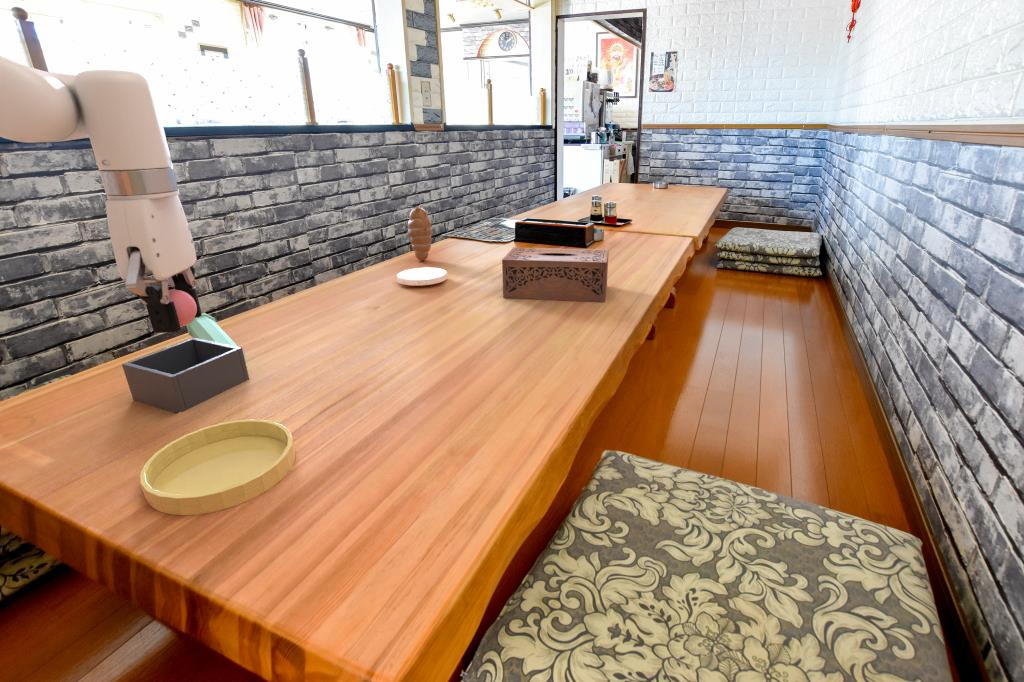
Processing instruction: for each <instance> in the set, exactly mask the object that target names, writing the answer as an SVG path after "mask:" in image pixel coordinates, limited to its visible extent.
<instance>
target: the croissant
mask: <svg viewBox="0 0 1024 682" xmlns="http://www.w3.org/2000/svg"><path fill="white" fill-rule="evenodd" d="M407 228H408V229H407V235H408V237H409V242H410V244H411V249H412V251H413V252H414V256H415V258H416V259H417V260H418V261H420V262H424V261H426V260H428V257H429V252H430V251H431V248H432V245H431V244H432V235H433V229H432V221H431V219H430V217H429V213H428V211H426V209H424V208H423V206H422V204H420V205H419V206H416V207H414V208H412V209H411V210H410V212H409V220H408V221H407Z"/></svg>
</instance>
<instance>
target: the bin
mask: <svg viewBox="0 0 1024 682" xmlns="http://www.w3.org/2000/svg"><path fill="white" fill-rule="evenodd" d="M243 352H244V350H243V347H241V346H238V347H236V346H231V345H227V344H222V343H217V342H212V341H208V340H203V339H198V338H194V337H192V338H189V339H186V340H182V341H180V342H178V343H174V344H172V345H169V346H167V347H164V348H161V349H159V350H156V351H154V352H151V353H148V354H145V355H142V356H140V357H136V358H134V359H132V360H129V361H126V362H123V363H121V366H122V369H123V372H124V376H125V379H126V381H127V385H128V388H129V391H130V394H131V396H132V400H133V401H135V402H138V403H142V404H145V405H148V406H151V407H155V408H158V409H161V410H165V411H167V412H170V413H175V414H179V413H183V412H185V411H187V410H189V409H192V408H194V407H196V406H198V405H199V404H203V403H204V402H206V401H209V400H210V399H213V398H214V397H216V396H219V395H220V394H223V393H225V392H227V391H228V390H231V389H232V388H235V387H236V386H239V385H241V384H243V383H245V382H247V381H250V376H249V371H248V367H247V362H246V363H245V359H246V357H245V358H244V354H245V353H244V354H243Z"/></svg>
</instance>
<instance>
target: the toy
mask: <svg viewBox="0 0 1024 682" xmlns="http://www.w3.org/2000/svg"><path fill="white" fill-rule="evenodd" d="M168 291H169V302H174V305H175V309H176V312H177V316H178V320H179V323H180V327H181V328H182V327H185V326H186V325H187V324H188V323H190V322H191V321H192V320H193V319H194V318H195V316H196V313H197V305H196V302H195V300H194V299H193V298H192V297H191V296H190V295H189V294H188V293H186V292H184V291H181V290H175V289H168Z"/></svg>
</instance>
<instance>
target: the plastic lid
mask: <svg viewBox="0 0 1024 682" xmlns="http://www.w3.org/2000/svg"><path fill="white" fill-rule="evenodd" d="M447 279H448V272H447V270H445V269H443V268H440V267H429V266H428V267H425V266H424V267H415V268H414V267H413V268H408V269H405V270H402V271H399V272H398V273H397V274H396V280H397V283H399V284H401V285H404V286H412V287H413V286H421V287H422V286H429V285H430V286H431V285H435V284H440V283H442V282H444V281H445V280H447Z"/></svg>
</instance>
